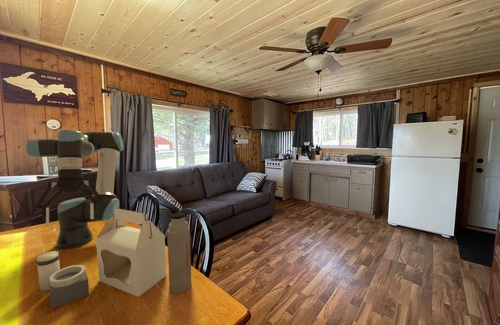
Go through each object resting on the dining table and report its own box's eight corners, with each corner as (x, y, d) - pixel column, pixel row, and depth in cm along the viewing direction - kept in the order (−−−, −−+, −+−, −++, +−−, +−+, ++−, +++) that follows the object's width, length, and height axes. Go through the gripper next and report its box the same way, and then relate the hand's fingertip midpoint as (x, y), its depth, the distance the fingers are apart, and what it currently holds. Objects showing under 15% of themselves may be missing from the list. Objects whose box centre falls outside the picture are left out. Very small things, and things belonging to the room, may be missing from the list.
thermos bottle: (195, 280, 84) (193, 211, 82) (185, 294, 77) (182, 219, 74) (176, 277, 86) (174, 210, 83) (165, 291, 78) (161, 217, 75)
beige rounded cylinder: (40, 284, 82) (36, 255, 80) (61, 278, 86) (58, 249, 85) (39, 293, 77) (36, 261, 76) (61, 285, 81) (58, 255, 80)
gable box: (167, 275, 87) (164, 209, 84) (139, 297, 75) (134, 220, 72) (129, 263, 96) (125, 202, 93) (98, 281, 84) (92, 212, 81)
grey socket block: (51, 293, 77) (48, 272, 76) (85, 280, 84) (84, 261, 83) (51, 309, 70) (48, 286, 69) (89, 294, 77) (87, 273, 76)
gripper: (25, 169, 75) (25, 230, 74) (109, 167, 93) (109, 217, 92) (26, 169, 80) (26, 227, 79) (105, 168, 98) (105, 215, 97)
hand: (70, 222), depth 85 cm, fingers open, 13 cm apart
